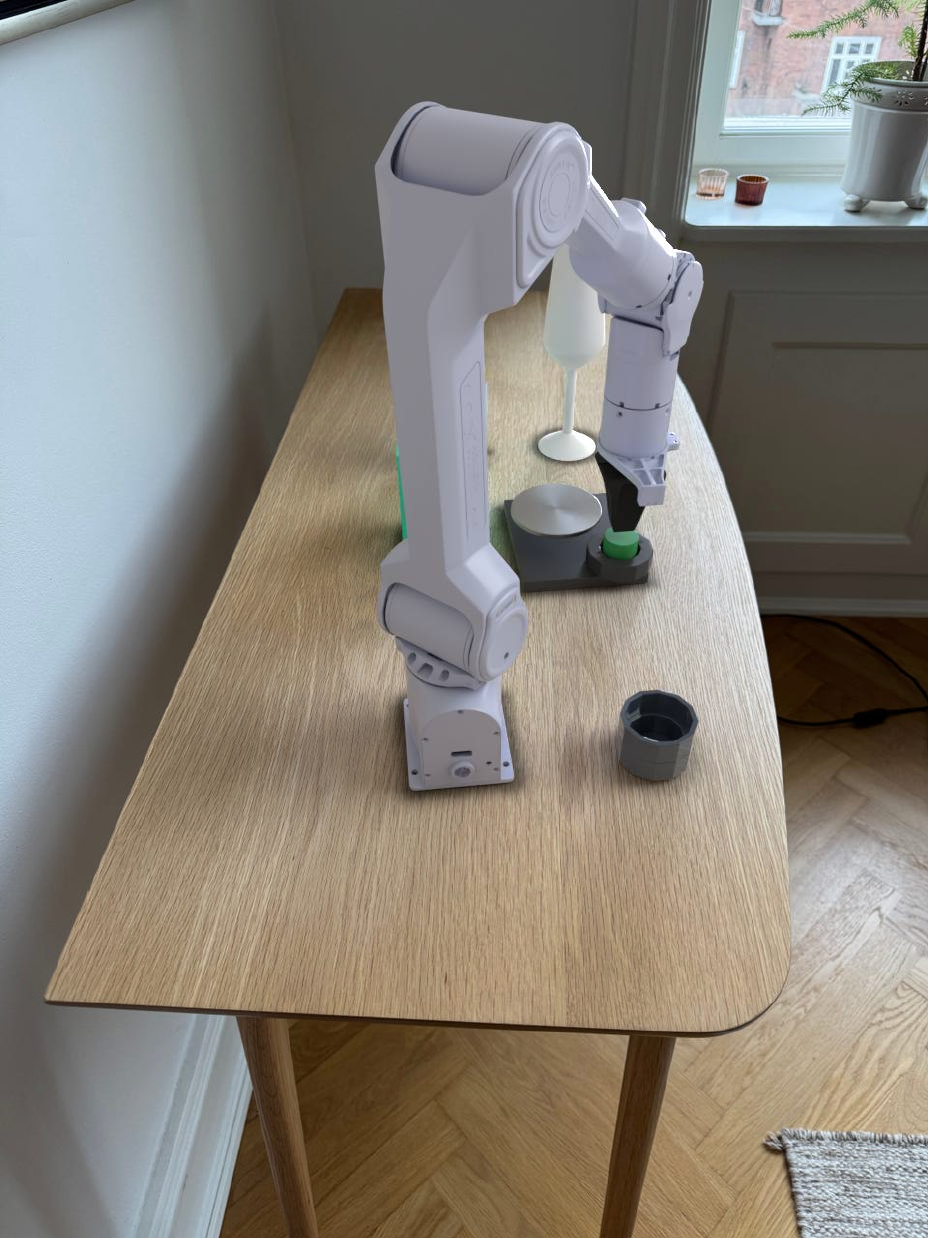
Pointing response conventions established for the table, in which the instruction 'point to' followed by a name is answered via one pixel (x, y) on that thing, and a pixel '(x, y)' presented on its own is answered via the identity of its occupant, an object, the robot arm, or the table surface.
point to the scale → (575, 558)
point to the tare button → (620, 544)
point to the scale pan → (556, 511)
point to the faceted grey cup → (656, 734)
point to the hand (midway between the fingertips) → (622, 527)
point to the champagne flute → (570, 348)
